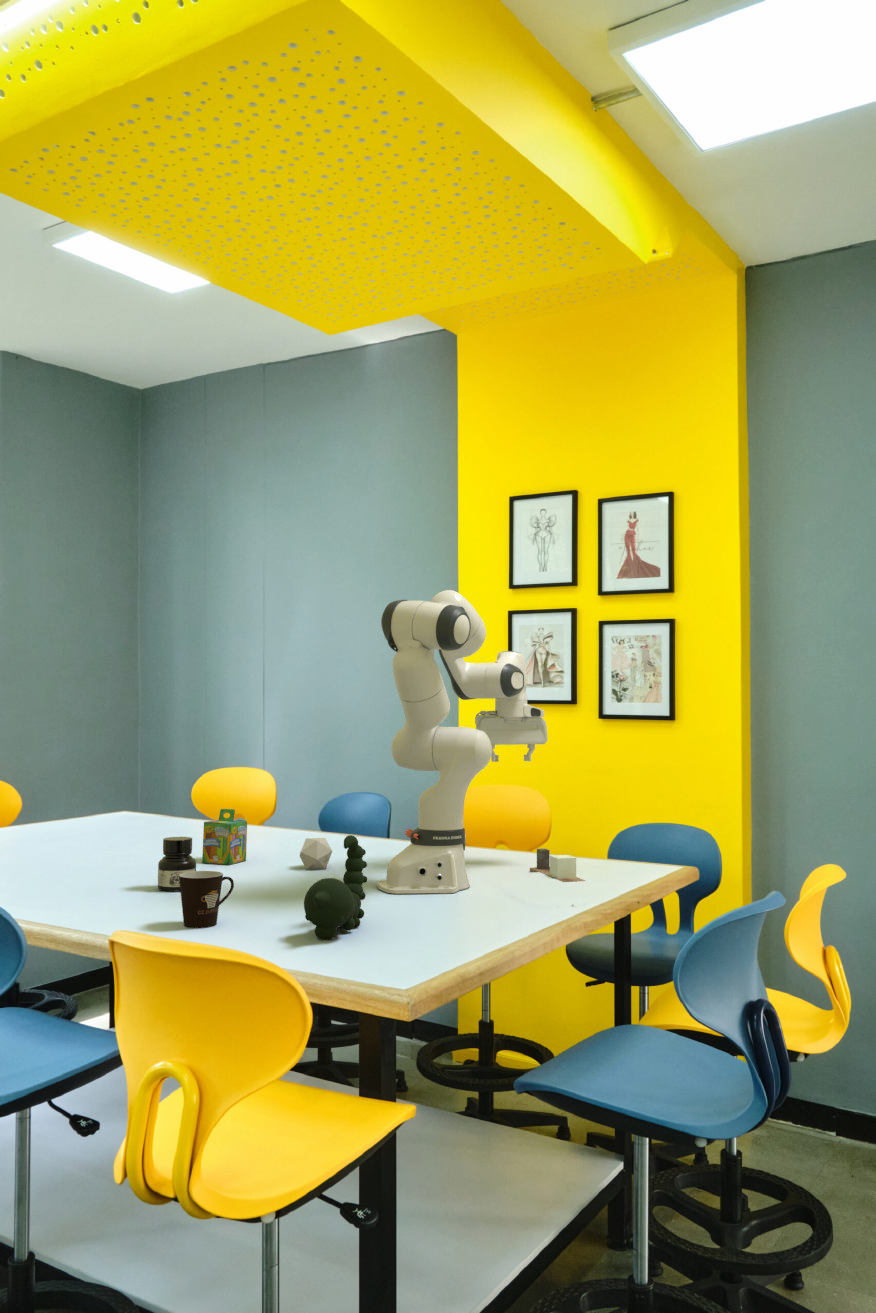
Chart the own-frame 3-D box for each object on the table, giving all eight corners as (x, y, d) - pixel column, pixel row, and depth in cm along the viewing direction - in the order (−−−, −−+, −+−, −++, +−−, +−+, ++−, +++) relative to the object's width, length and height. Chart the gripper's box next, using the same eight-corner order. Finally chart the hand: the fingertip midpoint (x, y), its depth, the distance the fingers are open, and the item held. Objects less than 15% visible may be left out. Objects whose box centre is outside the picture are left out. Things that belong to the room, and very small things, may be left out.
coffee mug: (181, 931, 190) (182, 879, 190) (175, 922, 197) (175, 872, 198) (241, 925, 194) (242, 875, 195) (232, 917, 202) (233, 868, 203)
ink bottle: (154, 892, 228) (155, 841, 229) (157, 886, 237) (158, 836, 238) (197, 891, 230) (197, 840, 231) (198, 884, 239) (199, 835, 240)
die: (321, 874, 258) (340, 842, 263) (292, 857, 259) (312, 825, 263) (319, 880, 266) (337, 849, 270) (291, 864, 266) (310, 833, 271)
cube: (557, 878, 243) (557, 858, 243) (549, 875, 248) (549, 855, 248) (576, 877, 244) (576, 857, 245) (568, 874, 249) (567, 854, 249)
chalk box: (201, 863, 271) (202, 810, 272) (219, 858, 280) (220, 807, 281) (230, 865, 268) (230, 811, 269) (247, 860, 277) (248, 808, 278)
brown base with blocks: (563, 886, 238) (563, 861, 239) (529, 871, 259) (529, 848, 260) (585, 884, 240) (585, 860, 240) (550, 870, 261) (550, 847, 261)
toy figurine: (333, 925, 202) (288, 942, 178) (337, 833, 205) (293, 837, 181) (377, 928, 200) (337, 946, 176) (380, 835, 203) (341, 839, 179)
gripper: (479, 710, 261) (479, 762, 260) (549, 710, 266) (549, 761, 266) (471, 710, 267) (471, 761, 266) (540, 710, 272) (540, 760, 272)
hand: (511, 761), depth 266 cm, fingers open, 8 cm apart
